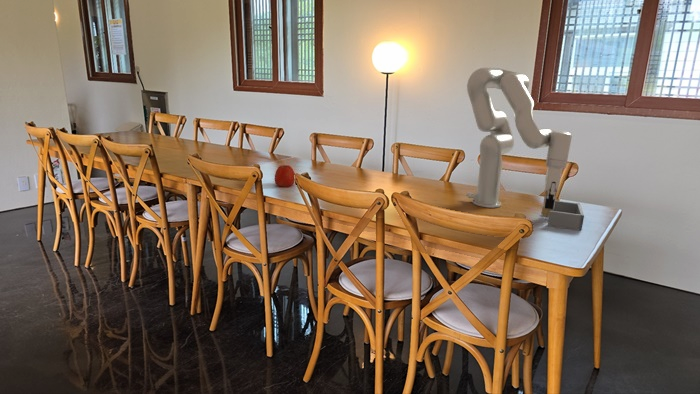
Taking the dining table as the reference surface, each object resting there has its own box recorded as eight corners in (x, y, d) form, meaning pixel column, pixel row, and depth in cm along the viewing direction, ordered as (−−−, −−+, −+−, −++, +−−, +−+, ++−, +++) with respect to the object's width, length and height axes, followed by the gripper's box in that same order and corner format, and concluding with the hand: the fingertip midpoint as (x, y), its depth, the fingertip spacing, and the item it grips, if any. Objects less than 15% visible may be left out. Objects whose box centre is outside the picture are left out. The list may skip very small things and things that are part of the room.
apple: (292, 182, 228) (292, 162, 225) (297, 187, 219) (297, 166, 216) (272, 183, 224) (272, 163, 221) (277, 188, 215) (276, 167, 212)
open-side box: (547, 225, 174) (549, 211, 172) (546, 213, 190) (548, 199, 188) (581, 230, 170) (584, 215, 168) (577, 217, 186) (579, 203, 184)
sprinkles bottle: (538, 213, 184) (544, 182, 180) (549, 213, 184) (554, 182, 180) (544, 217, 179) (550, 185, 176) (555, 217, 180) (561, 185, 176)
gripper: (545, 158, 184) (538, 200, 190) (546, 165, 169) (538, 211, 175) (565, 160, 182) (557, 202, 187) (568, 168, 167) (559, 214, 172)
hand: (548, 206), depth 181 cm, fingers closed on sprinkles bottle, 4 cm apart
